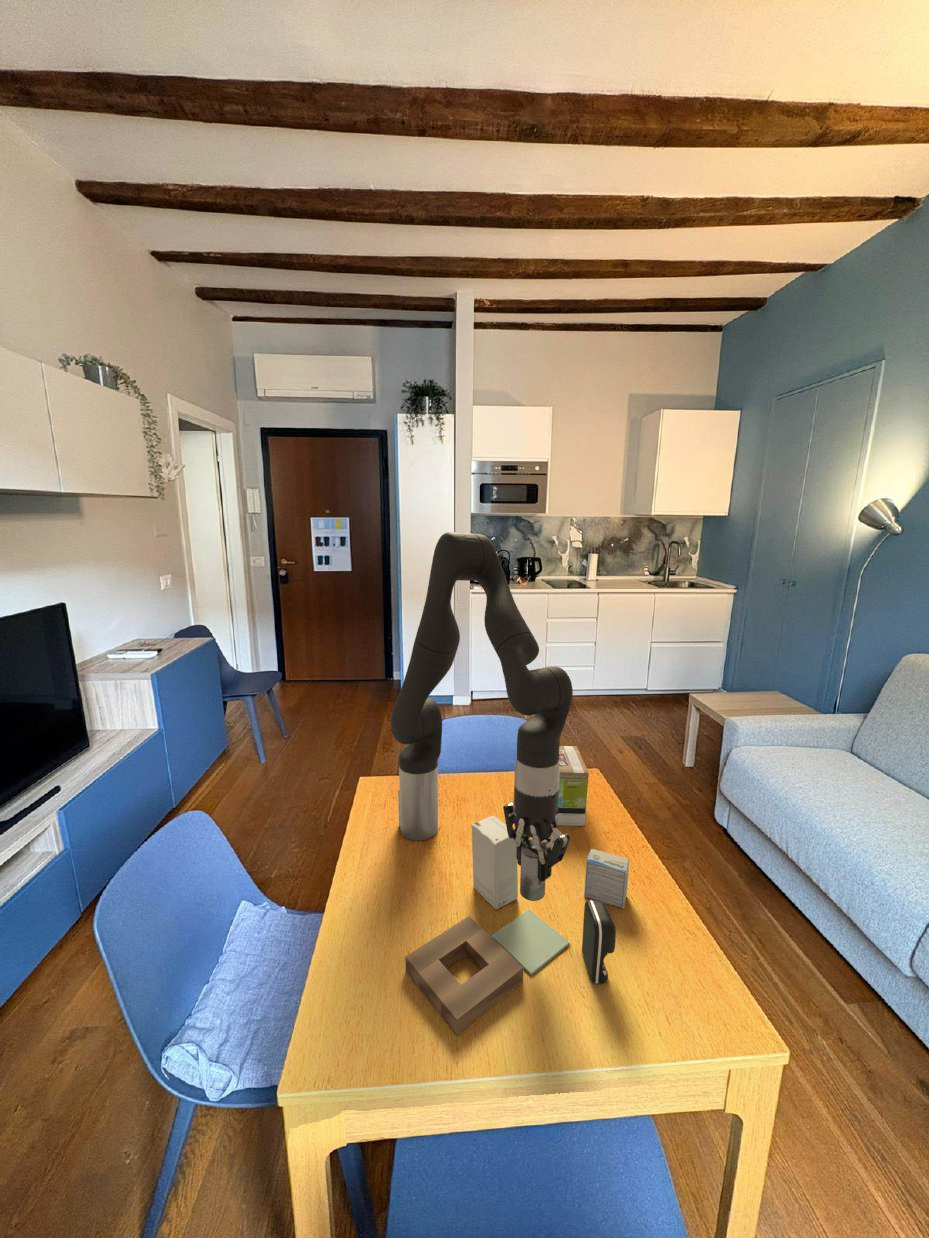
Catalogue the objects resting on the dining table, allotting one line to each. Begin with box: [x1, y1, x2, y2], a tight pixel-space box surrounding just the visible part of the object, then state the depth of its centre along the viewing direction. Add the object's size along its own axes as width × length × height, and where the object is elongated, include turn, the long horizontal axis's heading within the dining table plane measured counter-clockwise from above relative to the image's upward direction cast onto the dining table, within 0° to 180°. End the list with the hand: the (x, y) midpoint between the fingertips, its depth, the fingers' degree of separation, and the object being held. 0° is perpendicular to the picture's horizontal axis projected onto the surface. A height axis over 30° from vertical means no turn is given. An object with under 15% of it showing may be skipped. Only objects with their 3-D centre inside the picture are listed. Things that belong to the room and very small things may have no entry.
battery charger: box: [581, 899, 617, 985], centre depth 86 cm, size 7×4×11 cm, turn 2°
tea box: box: [555, 745, 589, 827], centre depth 132 cm, size 15×10×15 cm
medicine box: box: [583, 848, 630, 910], centre depth 103 cm, size 8×4×9 cm, turn 65°
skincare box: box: [471, 815, 519, 910], centre depth 103 cm, size 8×6×15 cm
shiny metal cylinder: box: [519, 838, 547, 902], centre depth 90 cm, size 4×4×9 cm
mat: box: [490, 908, 571, 976], centre depth 93 cm, size 10×10×1 cm
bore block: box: [404, 915, 524, 1037], centre depth 85 cm, size 14×14×3 cm
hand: (533, 870), depth 90 cm, fingers closed on shiny metal cylinder, 4 cm apart
